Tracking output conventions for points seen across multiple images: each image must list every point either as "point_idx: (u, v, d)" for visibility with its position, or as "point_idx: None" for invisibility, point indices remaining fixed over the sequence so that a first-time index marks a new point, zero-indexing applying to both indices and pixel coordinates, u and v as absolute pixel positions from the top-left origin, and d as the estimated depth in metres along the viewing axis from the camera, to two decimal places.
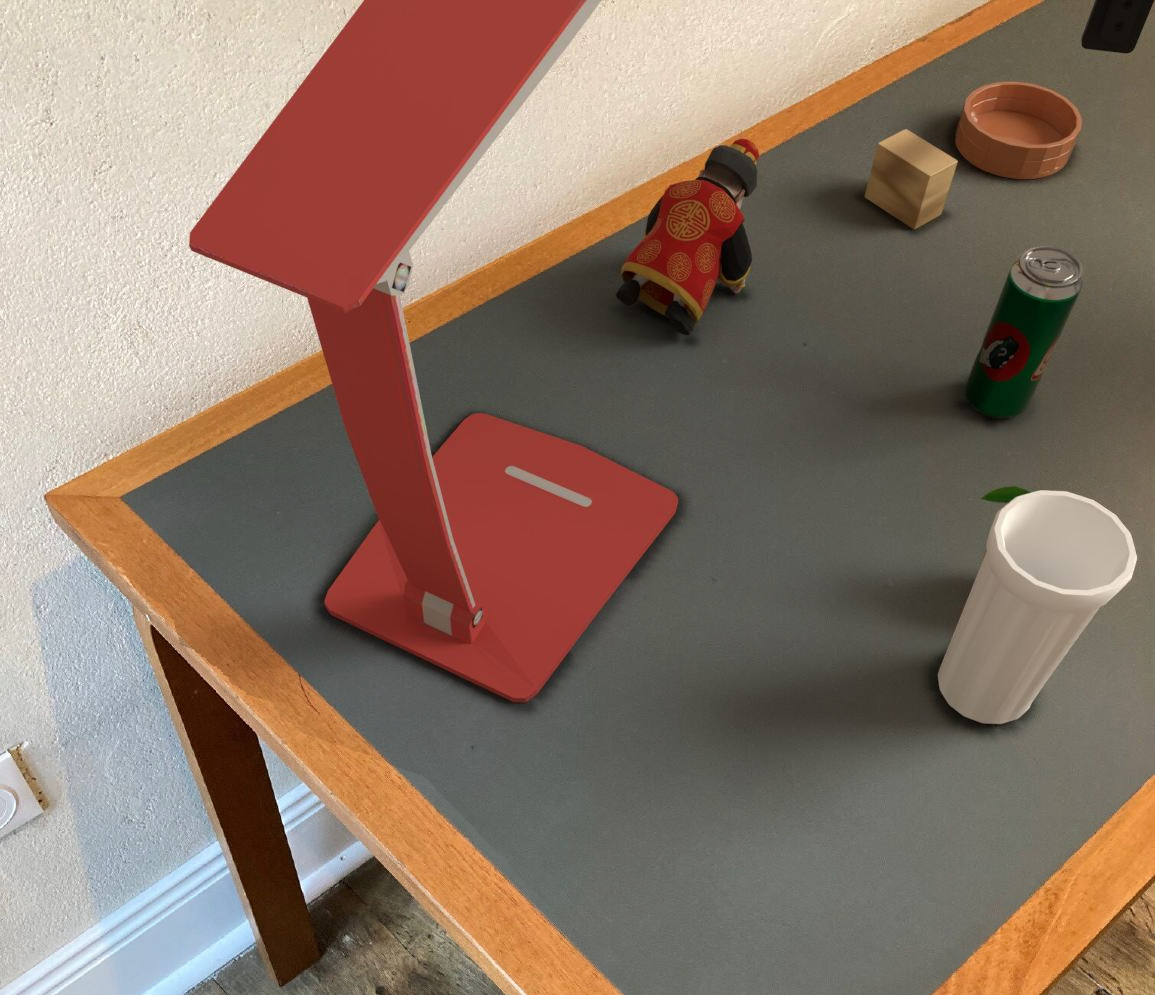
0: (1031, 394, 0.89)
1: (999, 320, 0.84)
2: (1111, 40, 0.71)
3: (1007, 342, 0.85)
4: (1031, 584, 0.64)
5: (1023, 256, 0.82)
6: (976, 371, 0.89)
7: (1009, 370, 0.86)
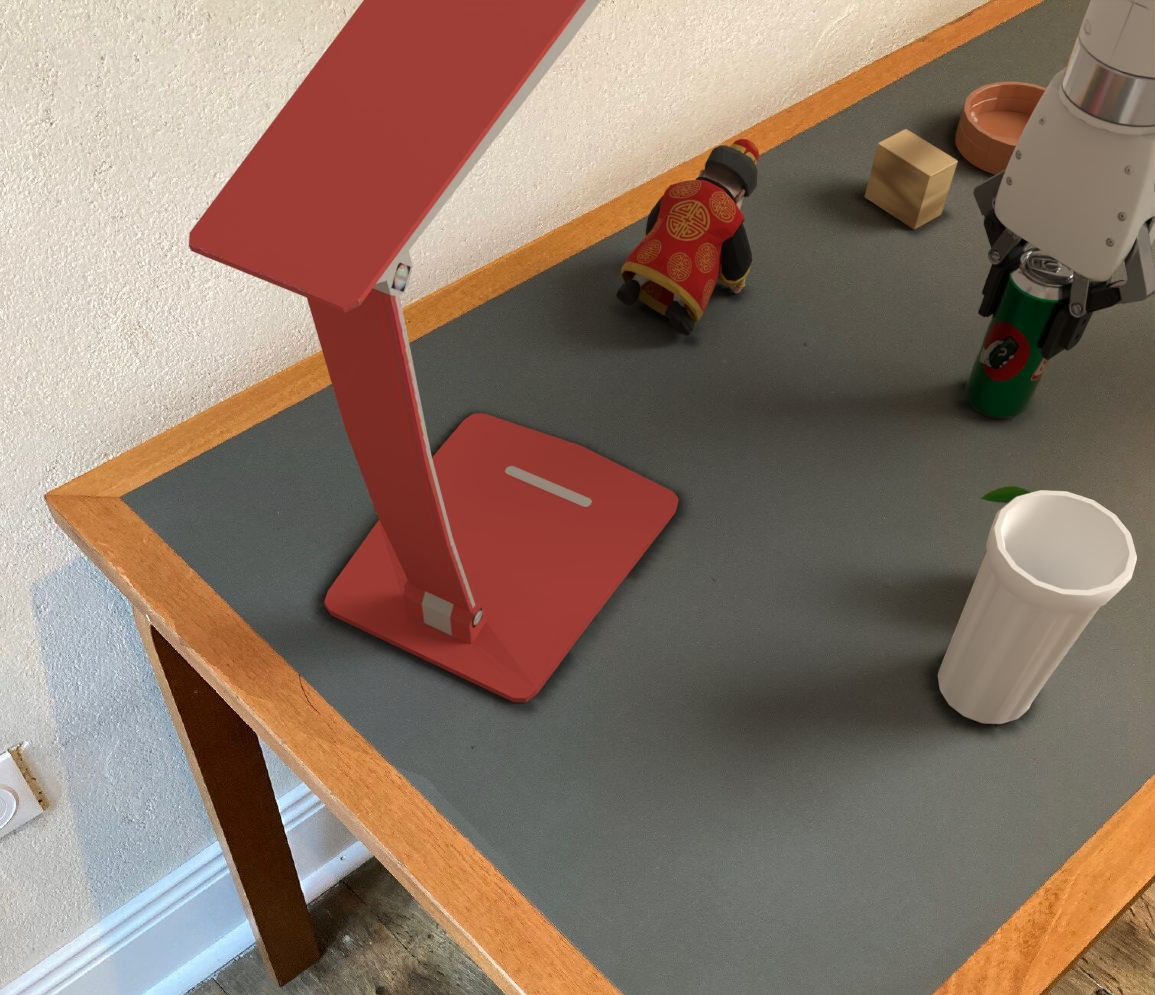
0: (1031, 394, 0.89)
1: (999, 320, 0.84)
2: (1071, 347, 0.83)
3: (1007, 342, 0.85)
4: (1031, 584, 0.64)
5: (1023, 256, 0.82)
6: (976, 371, 0.89)
7: (1009, 370, 0.86)
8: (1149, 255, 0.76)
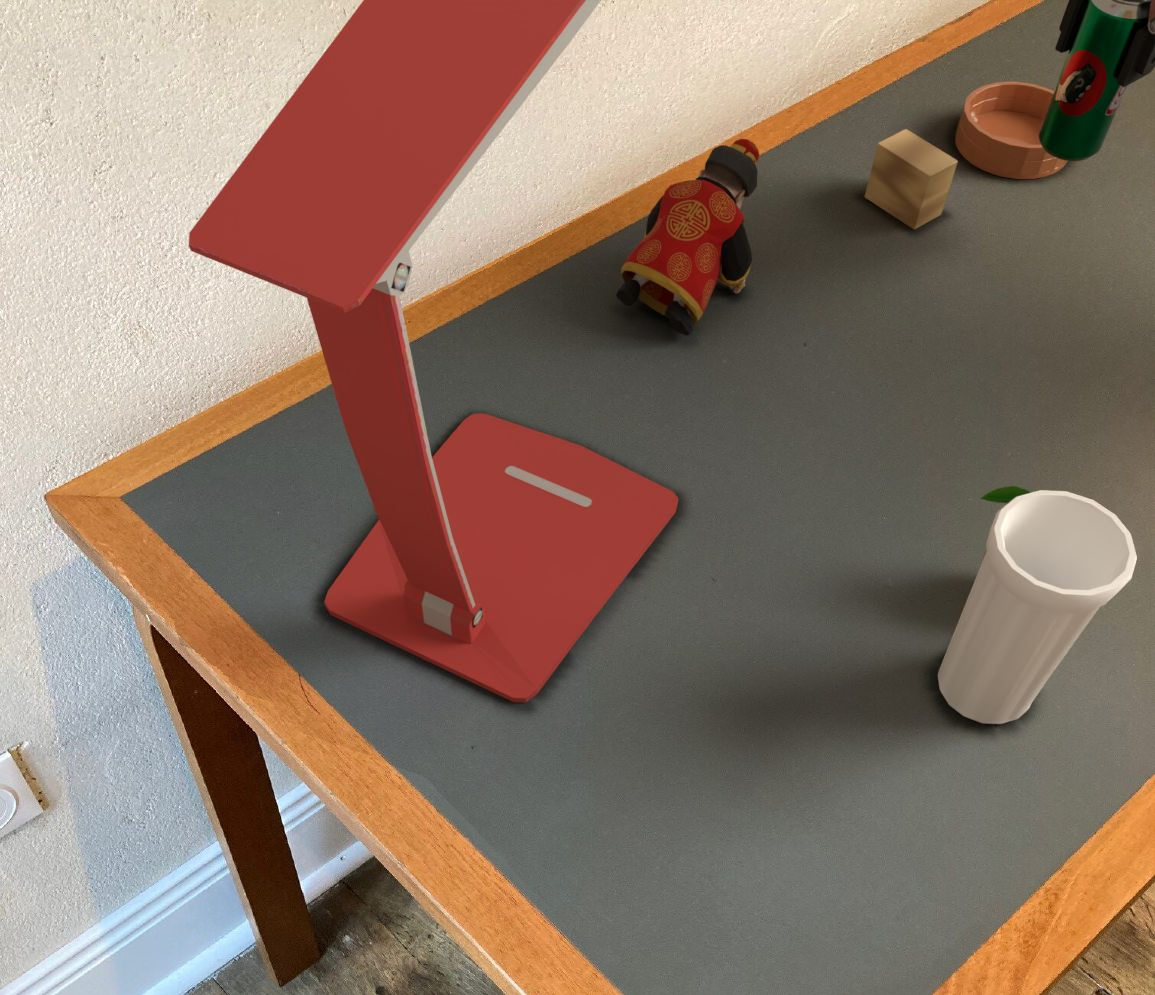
0: (1104, 133, 0.92)
1: (1077, 49, 0.88)
2: (1147, 72, 0.87)
3: (1084, 71, 0.88)
4: (1031, 584, 0.64)
5: None
6: (1051, 111, 0.92)
7: (1085, 103, 0.90)
8: None
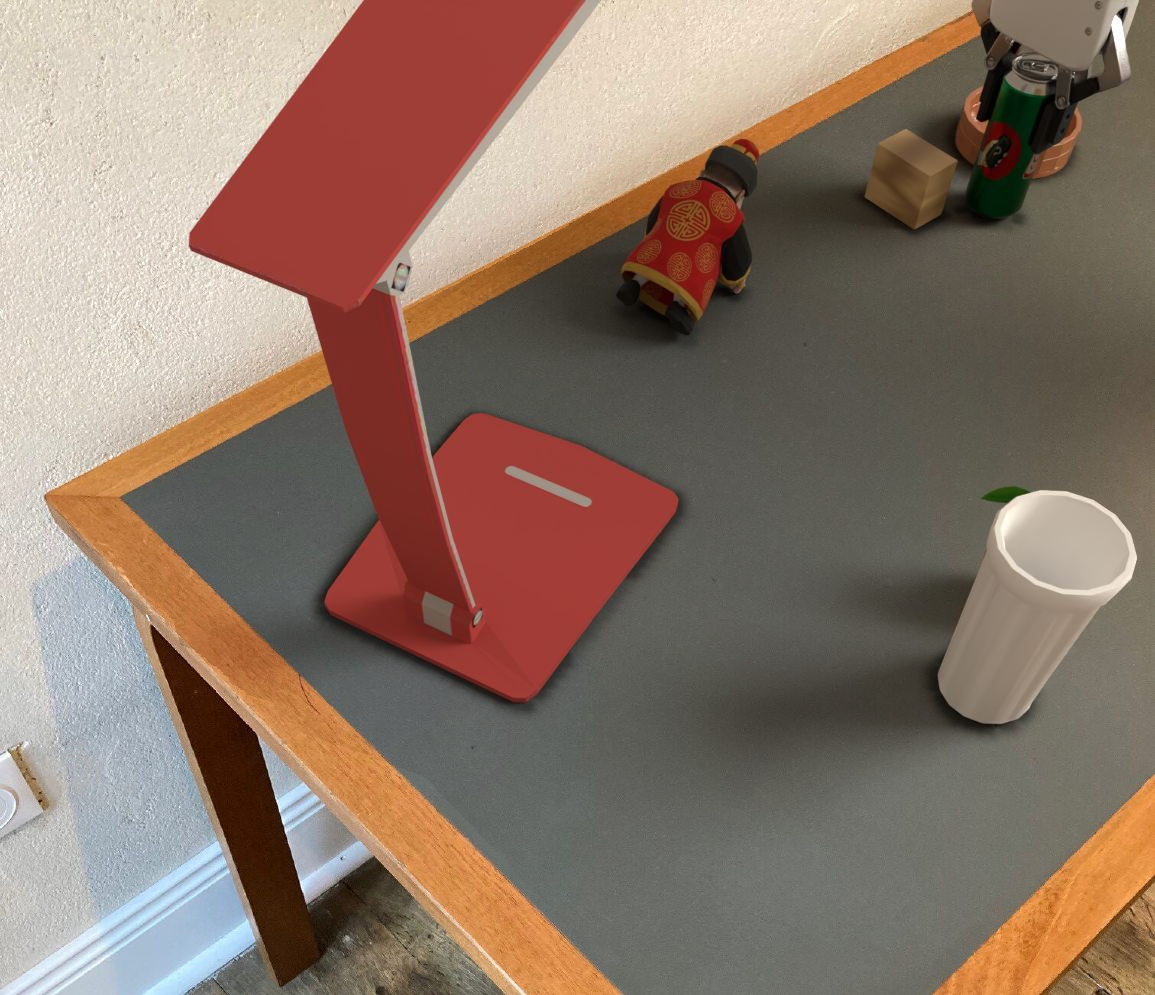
0: (1023, 194, 1.01)
1: (994, 120, 0.97)
2: (1057, 142, 0.96)
3: (1001, 140, 0.97)
4: (1031, 584, 0.64)
5: (1015, 59, 0.94)
6: (974, 174, 1.01)
7: (1003, 168, 0.98)
8: (1123, 44, 0.88)
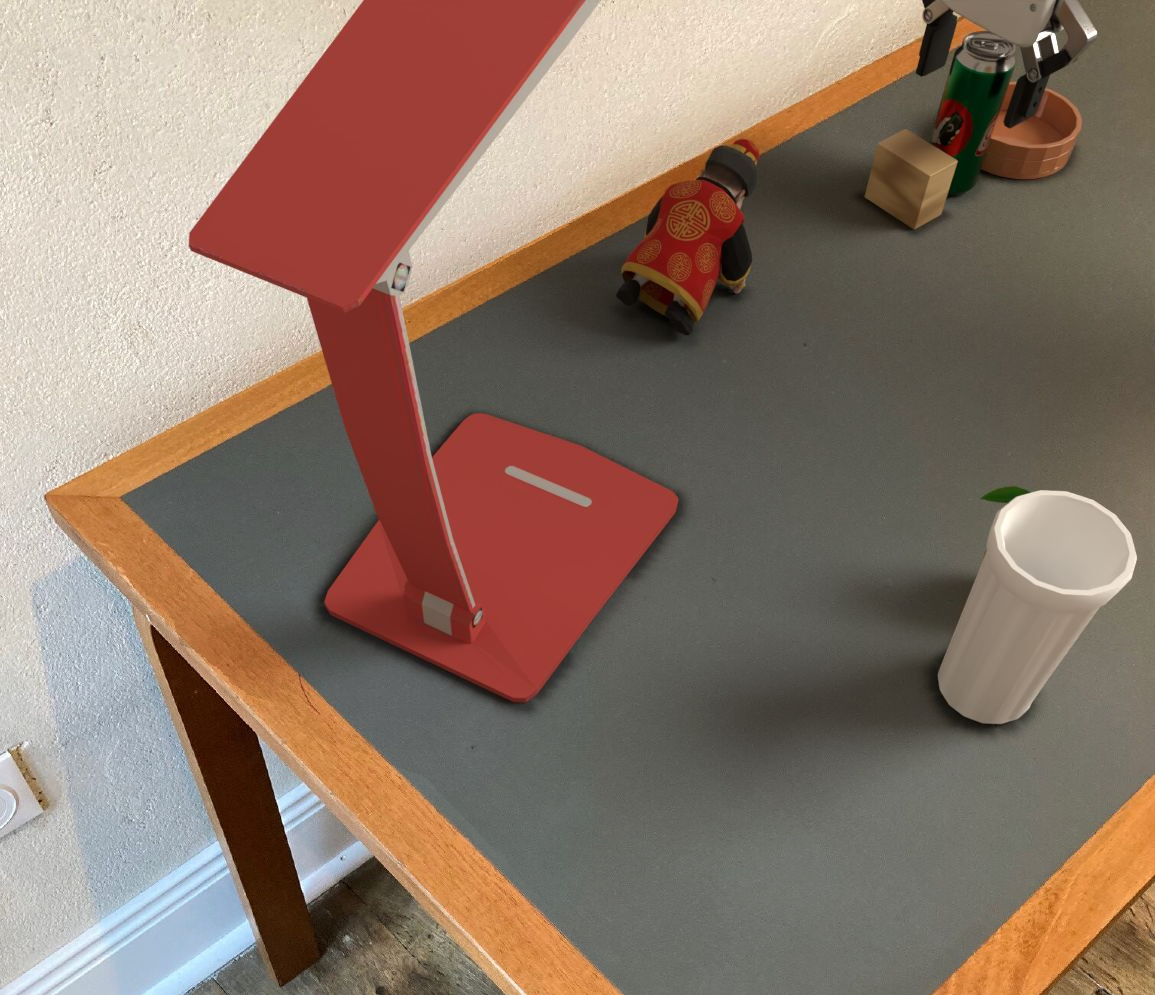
0: (976, 171, 1.03)
1: (946, 98, 0.99)
2: (1029, 115, 0.96)
3: (953, 118, 0.99)
4: (1031, 584, 0.64)
5: (965, 38, 0.96)
6: None
7: (956, 145, 1.01)
8: (1079, 8, 0.89)
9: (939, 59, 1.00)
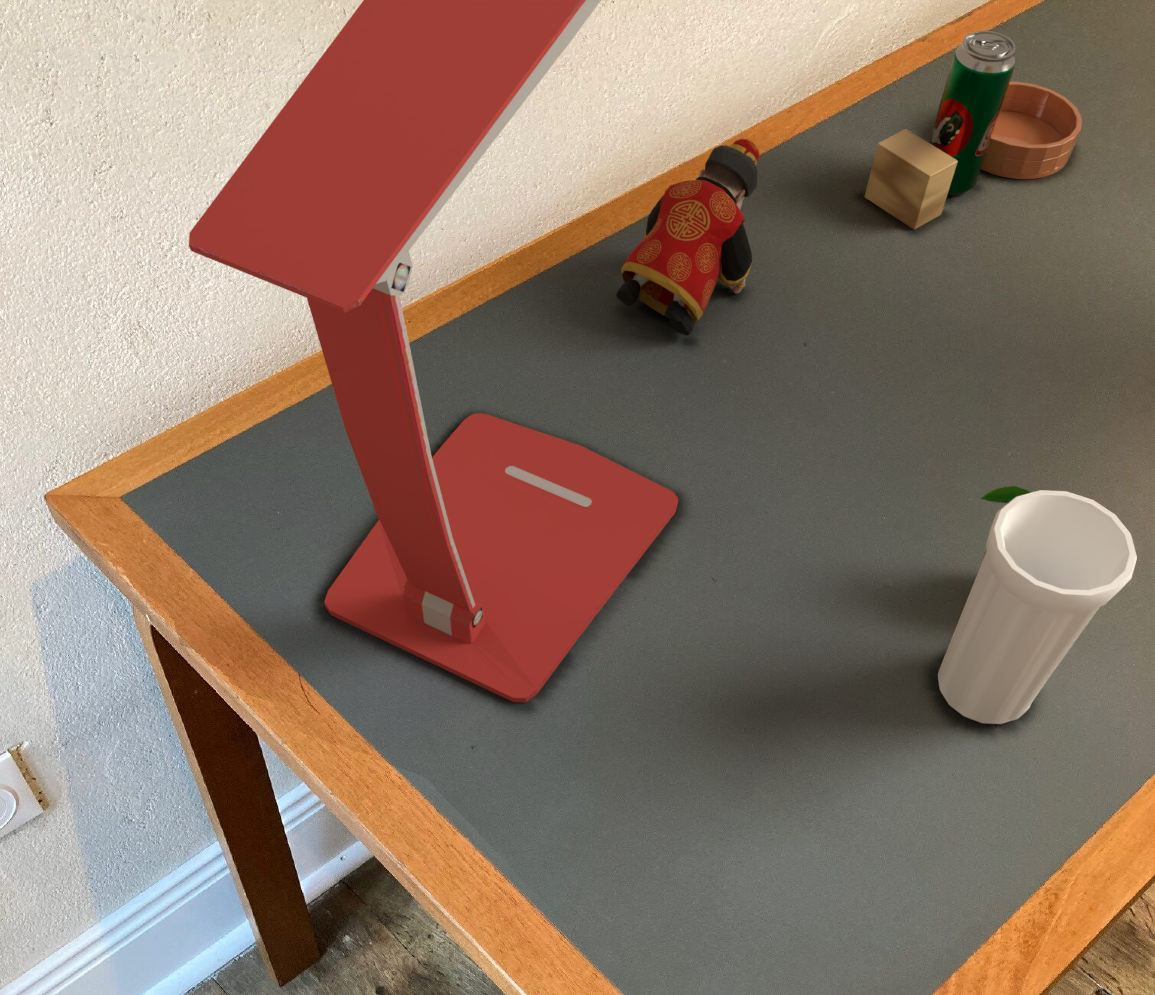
0: (976, 171, 1.03)
1: (946, 98, 0.99)
2: None
3: (953, 118, 0.99)
4: (1031, 584, 0.64)
5: (965, 38, 0.96)
6: None
7: (956, 145, 1.01)
8: None
9: None
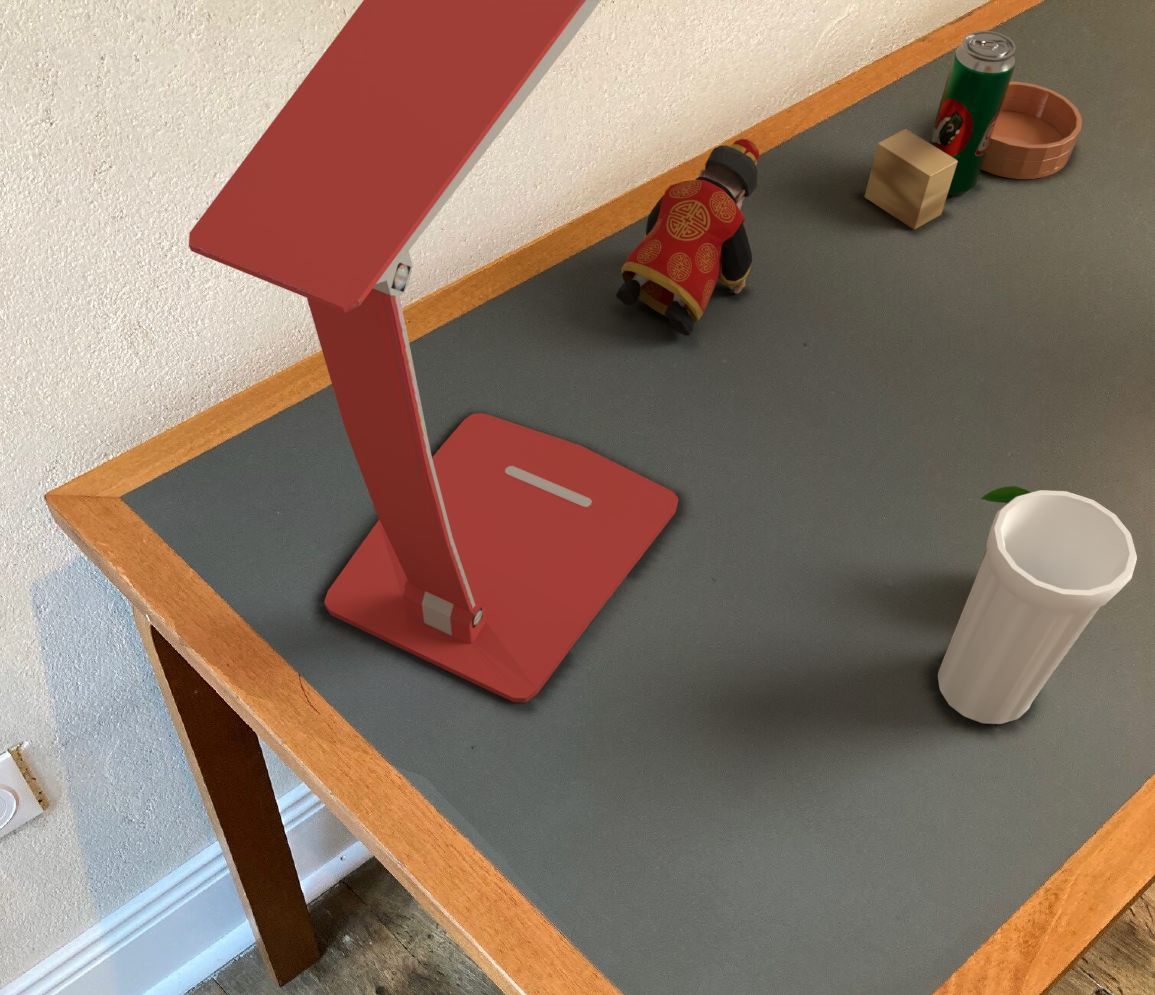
0: (976, 171, 1.03)
1: (946, 98, 0.99)
2: None
3: (953, 118, 0.99)
4: (1031, 584, 0.64)
5: (965, 38, 0.96)
6: None
7: (956, 145, 1.01)
8: None
9: None
